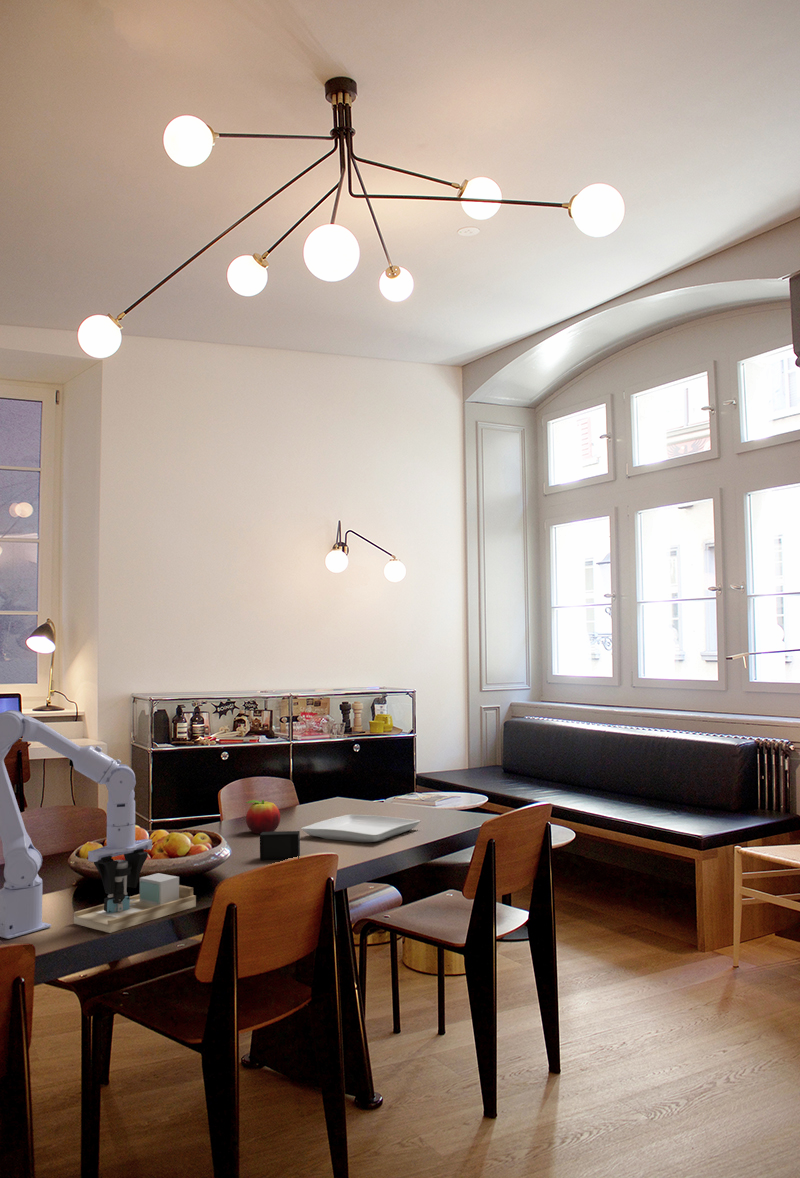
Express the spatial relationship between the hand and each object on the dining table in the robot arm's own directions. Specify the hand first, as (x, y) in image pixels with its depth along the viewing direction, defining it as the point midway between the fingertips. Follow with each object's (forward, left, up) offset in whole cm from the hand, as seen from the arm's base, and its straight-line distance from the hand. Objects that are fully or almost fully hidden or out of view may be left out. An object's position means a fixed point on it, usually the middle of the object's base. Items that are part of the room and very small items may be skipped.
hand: (120, 890), depth 184 cm
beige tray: (+4, 0, -6) cm, 7 cm away
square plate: (+97, +13, -7) cm, 98 cm away
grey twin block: (+10, 0, -4) cm, 11 cm away
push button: (+1, +1, -4) cm, 5 cm away
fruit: (+84, +42, -6) cm, 94 cm away
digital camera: (+60, +11, -6) cm, 61 cm away
